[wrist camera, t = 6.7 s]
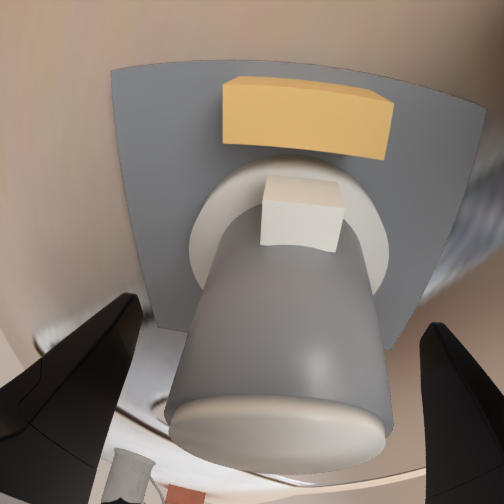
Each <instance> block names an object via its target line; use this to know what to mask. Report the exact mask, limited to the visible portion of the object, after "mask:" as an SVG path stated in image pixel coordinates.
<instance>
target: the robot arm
mask: <svg viewBox="0 0 504 504" xmlns="http://www.w3.org/2000/svg"><path fill="white" fill-rule="evenodd" d="M142 319H143V311H142V308H141V305H140V302H139V299H138V296H137V295H136V294H132V293H123V294H121V295H120V296H119V297H117V298H116V299H115V300H113V301H112V302H111V303H109V304H108V305H107V306H106V307H104V308H103V309H102V310H100V311H99V312H98V313H96V314H95V315H94V316H93V317H91V318H90V319H89V320H87V321H86V322H85V323H84V324H82V325H81V326H80V327H78V328H77V329H76V330H75V331H73V332H72V333H71V334H70V335H68V336H67V337H66V338H65V339H63V340H62V341H61V342H60V343H58V344H57V345H56V346H55V347H53V348H52V349H51V350H50V351H48V352H47V353H46V354H45V355H44V356H43V357H42V358H40V359H39V360H37V361H36V362H35V363H34V364H32V365H31V366H30V367H29V368H27V369H26V370H25V371H24V372H22V373H21V374H20V375H18V376H17V377H15V378H14V379H13V380H12V381H10V382H9V383H7V384H6V385H4V386H3V387H1V388H0V504H88V501H89V497H90V493H91V489H92V486H93V482H94V478H95V475H96V471H97V467H98V463H99V460H100V457H101V453H102V450H103V446H104V443H105V440H106V437H107V433H108V430H109V427H110V424H111V421H112V418H113V415H114V411H115V408H116V405H117V402H118V399H119V397H120V394H121V391H122V388H123V385H124V382H125V379H126V376H127V374H128V371H129V368H130V365H131V362H132V359H133V355H134V351H135V347H136V343H137V339H138V335H139V331H140V327H141V323H142ZM420 368H421V369H420V370H421V393H422V403H423V414H424V427H425V445H426V499H425V504H504V396H503V395H502V393H501V392H500V391H499V389H498V388H497V386H496V385H495V384H494V383H493V381H492V380H491V379H490V377H489V376H488V375H487V374H486V372H485V371H484V370H483V369H482V368H481V366H480V365H479V364H478V363H477V361H476V360H475V359H474V358H473V357H472V355H471V354H470V353H469V352H468V351H467V349H466V348H465V347H464V346H463V345H462V344H461V342H460V341H459V340H458V339H457V338H456V337H455V336H454V334H453V333H452V332H451V331H450V330H449V329H448V328H447V326H446V325H445V324H443V323H441V322H432V323H431V324H430V325H429V326H428V328H427V329H426V331H425V333H424V334H423V336H422V338H421V340H420Z"/></svg>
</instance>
